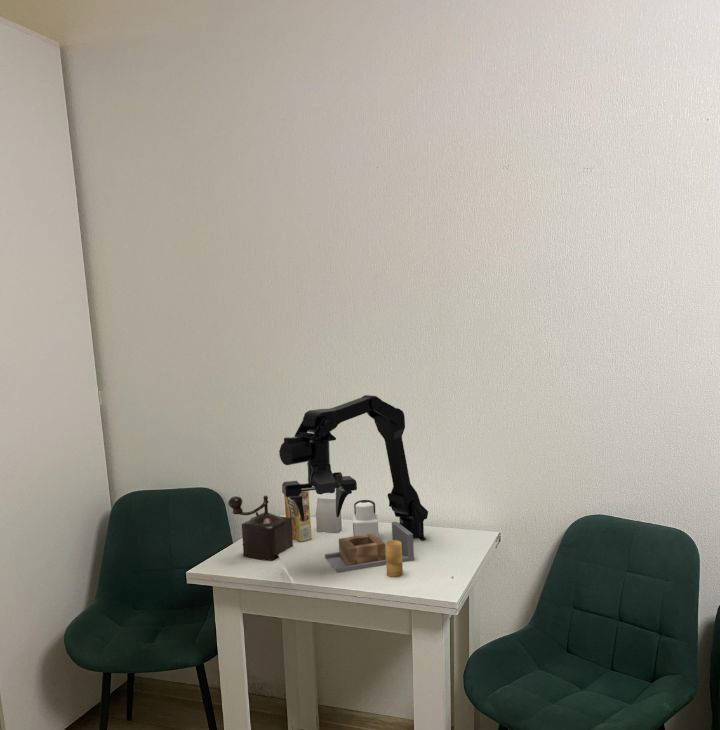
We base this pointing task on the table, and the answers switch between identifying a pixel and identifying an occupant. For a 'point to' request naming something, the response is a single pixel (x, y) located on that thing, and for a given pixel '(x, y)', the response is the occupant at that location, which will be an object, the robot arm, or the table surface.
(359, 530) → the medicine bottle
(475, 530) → the table surface
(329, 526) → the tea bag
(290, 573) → the table surface
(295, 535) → the candy box
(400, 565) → the dowel
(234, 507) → the manual coffee grinder
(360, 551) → the block
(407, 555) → the rail board
